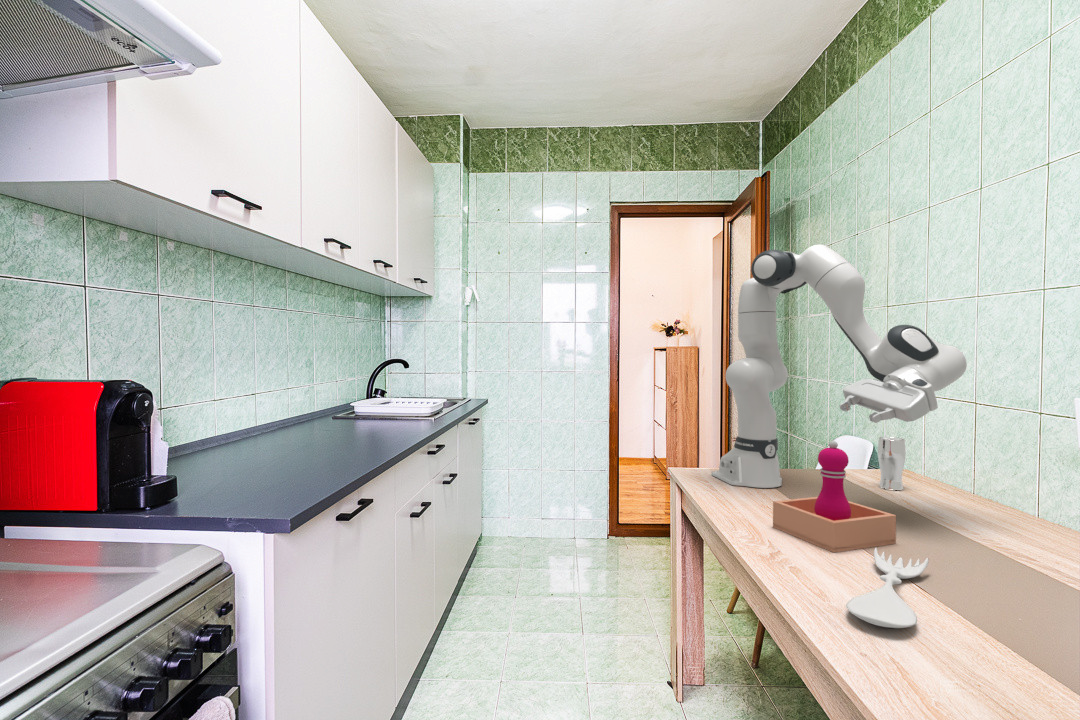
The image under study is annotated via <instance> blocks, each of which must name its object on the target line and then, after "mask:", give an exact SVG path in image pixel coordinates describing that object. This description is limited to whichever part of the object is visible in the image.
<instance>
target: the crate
mask: <svg viewBox="0 0 1080 720" xmlns="http://www.w3.org/2000/svg"><path fill="white" fill-rule="evenodd" d="M817 498H818V496H813V497H804V498H791V499H781V500H775V501H772V528H774V529H777V530H779V531H780V532H781V531H782V532H784V533H786V534H788V535H791V536H792V537H793V536H794V537H796V538H798V539H800V540H803V541H805V542H808V543H810V544H813V545H815V546H817V547H820V548H822V549H825V550H827V551H829V552H832V553H841V552H847V551H854V550H861V549H868V548H876V547H880V546H887V545H894V544H896V542H897V536H896V535H897V533H896V531H897V515H896V514H893V513H890V512H887V511H883V510H879V509H876V508H873V507H869V506H866V505H864V504H863V505H862V504H860V503H857V502H854V501H850V500H848V502H849V505H850V508H851V517H850V518H849V519H844V520H836V521H833V520H830V519H827V518H824V517H822V516H819V515H816V513H815V511H814V508H815V503H816V500H817Z"/></svg>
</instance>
